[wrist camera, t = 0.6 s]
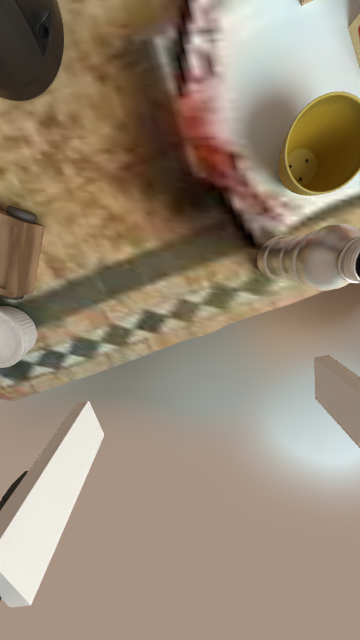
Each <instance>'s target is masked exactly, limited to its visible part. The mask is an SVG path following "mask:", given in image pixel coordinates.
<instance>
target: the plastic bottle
mask: <svg viewBox="0 0 360 640" xmlns="http://www.w3.org/2000/svg"><path fill="white" fill-rule="evenodd" d="M257 266H258V269H259V271H260V272H261V273H262V274H263V275H264V276H266V277H267V278H269V279H273V280H279V279H285V278H287V279H293V280H297V281H299V282H301V283H303V284H305V285H307V286H309V287H311V288H314V289H317V290H331V289H336V288H340V287H343V286H345V285H347V284H348V283H350V282H352V283H360V230H359V229H358V228H356V227H354V226H350V225H346V224H331V225H328V226H325V227H322V228H319V229H317V230H315V231H313V232H311V233H309V234H306V235H303V236H299V237H290V236H276V237H274V238H272V239H270V240H269V241H267V242H266V243H265V244H264V245H263V246H262V247H261V248H260V250H259V252H258V255H257Z"/></svg>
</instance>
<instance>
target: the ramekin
mask: <svg viewBox="0 0 360 640" xmlns="http://www.w3.org/2000/svg"><path fill="white" fill-rule="evenodd" d="M36 338H37V331H36V327H35V324H34V322H33V321H32V319H31V318H30V317H29V316H28V315H27V314H26V313H24V312H23V311H21V310H19V309H17V308H14V307H11V306H0V368H4V367H9V366H11V365H13V364H15V363H17V362H18V361H19V360H20V359H21V358H22V357H23V356H24V355H25V354H26V353H27V352H28V351H29V350H30V349H31V348H32V347H33V346H34V344H35V342H36Z"/></svg>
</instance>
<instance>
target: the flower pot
mask: <svg viewBox="0 0 360 640" xmlns="http://www.w3.org/2000/svg"><path fill="white" fill-rule="evenodd" d="M306 159H307V160H308V162H307V163H306ZM290 165H291V168H289V166H290ZM359 171H360V99H359V98H358V97H357V96H355V95H353V94H350V93H346V92H331V93H327V94H324V95H322V96H320V97H318V98H316V99H315V100H313V101H312V102H311V103H309V104H308V105H307V106H306V107H305V108H304V109H303V110H302V111H301V112H300V113H299V115H298V116H297V118H296V119H295V121H294V122H293V124H292V126H291V128H290V130H289V132H288V134H287V136H286V138H285V141H284V143H283V146H282V149H281V153H280V158H279V175H280V179H281V181H282V183H283V185H284V186H285V187H286V188H287V189H288V190H290V191H291V192H294V193H296V194H300V195H307V196H313V195H322V194H326V193H330V192H333V191H336V190H338V189H340V188H342V187H343V186H345V185H346V184H347V183H349V182H350V181H351V180H352V179H353V178H354V177H355V176H356V175H357V174H358V172H359ZM299 178H301V181H299Z"/></svg>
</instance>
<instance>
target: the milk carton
mask: <svg viewBox="0 0 360 640" xmlns="http://www.w3.org/2000/svg"><path fill="white" fill-rule="evenodd" d="M348 29H349V33H350V36H351V39H352V43H353V46H354V50H355V53H356V57H357V60H358V63H359V67H360V14H359V15H358V16H357V17H356V19H355V20H354V21H353V22H352V24H351V25H350V26H349V27H348Z"/></svg>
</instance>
